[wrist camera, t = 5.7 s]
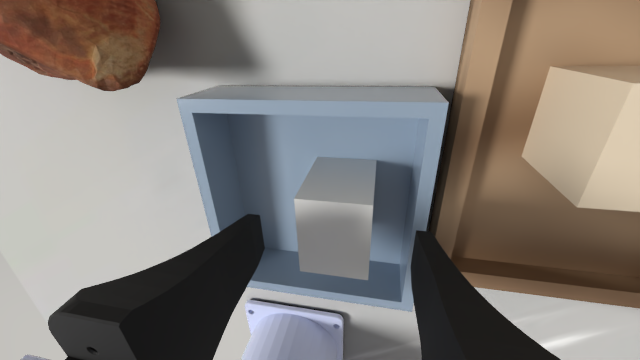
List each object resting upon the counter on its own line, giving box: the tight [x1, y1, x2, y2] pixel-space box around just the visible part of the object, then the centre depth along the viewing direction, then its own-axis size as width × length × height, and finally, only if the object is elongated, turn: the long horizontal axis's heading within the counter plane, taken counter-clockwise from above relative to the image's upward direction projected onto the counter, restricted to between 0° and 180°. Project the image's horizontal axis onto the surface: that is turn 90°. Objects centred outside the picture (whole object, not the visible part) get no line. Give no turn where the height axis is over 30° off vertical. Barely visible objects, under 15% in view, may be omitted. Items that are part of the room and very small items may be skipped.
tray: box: [429, 0, 640, 308], centre depth 12 cm, size 16×12×2 cm
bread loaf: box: [0, 0, 160, 91], centre depth 12 cm, size 13×8×10 cm
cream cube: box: [522, 66, 640, 212], centre depth 10 cm, size 4×3×4 cm
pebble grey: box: [294, 157, 377, 280], centre depth 14 cm, size 4×3×4 cm
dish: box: [177, 86, 449, 312], centre depth 15 cm, size 11×11×4 cm
